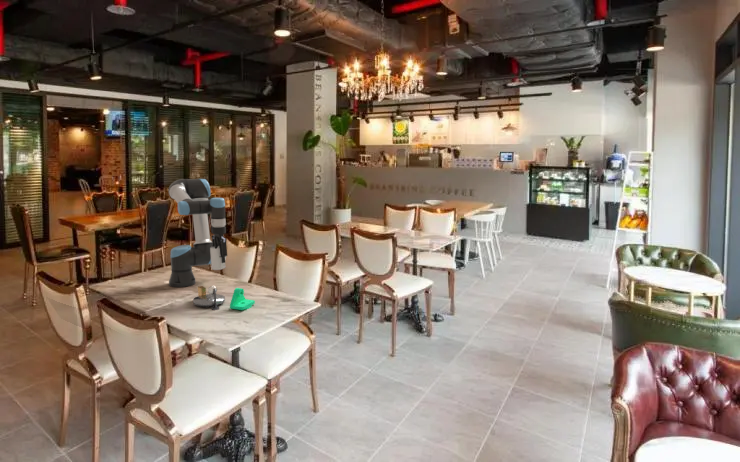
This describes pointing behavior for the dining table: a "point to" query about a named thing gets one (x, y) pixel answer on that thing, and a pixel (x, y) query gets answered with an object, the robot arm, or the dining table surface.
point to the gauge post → (213, 290)
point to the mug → (215, 258)
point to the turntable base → (207, 306)
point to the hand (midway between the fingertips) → (220, 267)
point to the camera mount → (240, 300)
